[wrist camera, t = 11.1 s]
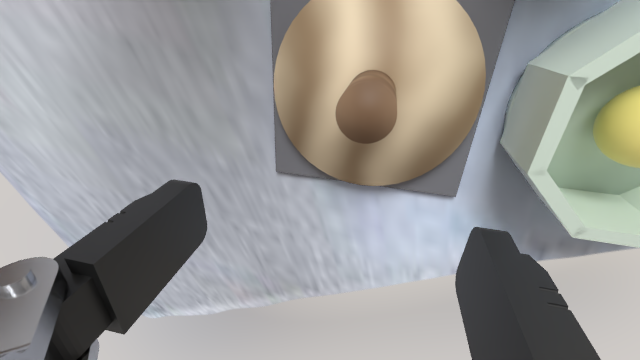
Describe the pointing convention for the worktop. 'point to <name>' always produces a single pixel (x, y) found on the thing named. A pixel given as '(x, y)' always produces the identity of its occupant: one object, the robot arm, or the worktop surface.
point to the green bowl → (579, 126)
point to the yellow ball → (620, 128)
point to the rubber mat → (490, 22)
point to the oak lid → (379, 86)
